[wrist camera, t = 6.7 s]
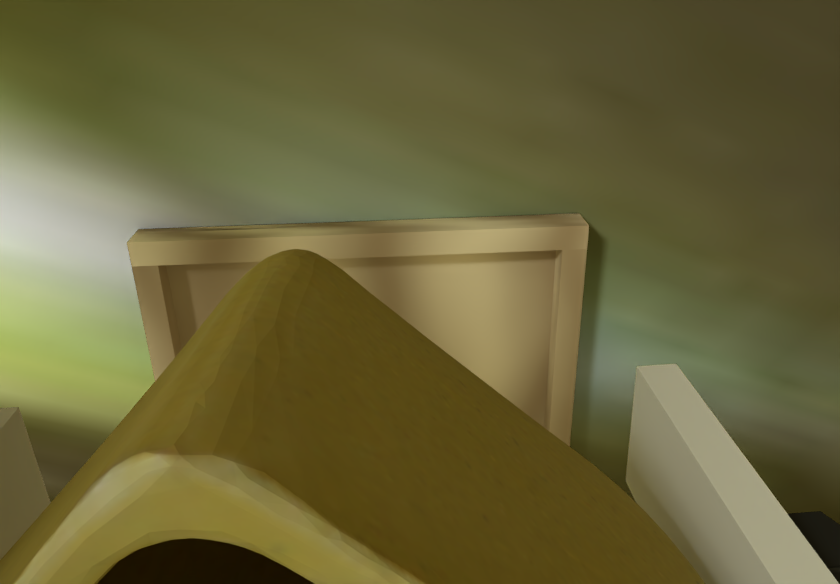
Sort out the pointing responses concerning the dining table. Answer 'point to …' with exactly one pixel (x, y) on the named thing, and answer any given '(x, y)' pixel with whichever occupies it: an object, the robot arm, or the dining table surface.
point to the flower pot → (334, 464)
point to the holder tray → (404, 290)
